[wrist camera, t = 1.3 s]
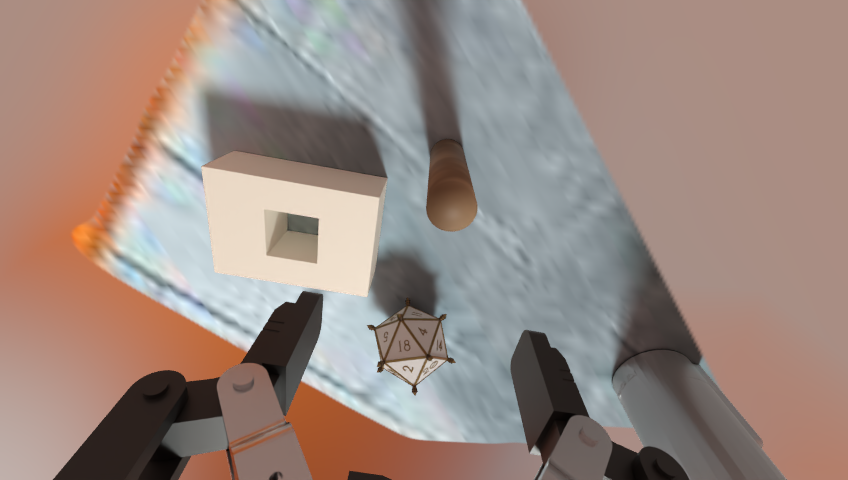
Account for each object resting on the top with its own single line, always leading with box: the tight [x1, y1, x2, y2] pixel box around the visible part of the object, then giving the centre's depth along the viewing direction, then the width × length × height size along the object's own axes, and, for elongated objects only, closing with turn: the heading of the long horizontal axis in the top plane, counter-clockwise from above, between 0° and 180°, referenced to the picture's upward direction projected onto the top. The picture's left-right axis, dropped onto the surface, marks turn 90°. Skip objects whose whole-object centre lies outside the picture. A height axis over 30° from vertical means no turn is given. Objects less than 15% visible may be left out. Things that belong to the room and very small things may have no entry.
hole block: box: [201, 151, 387, 297], centre depth 32 cm, size 14×10×5 cm
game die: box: [367, 298, 456, 395], centre depth 37 cm, size 9×8×10 cm
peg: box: [426, 139, 477, 231], centre depth 26 cm, size 3×3×12 cm
